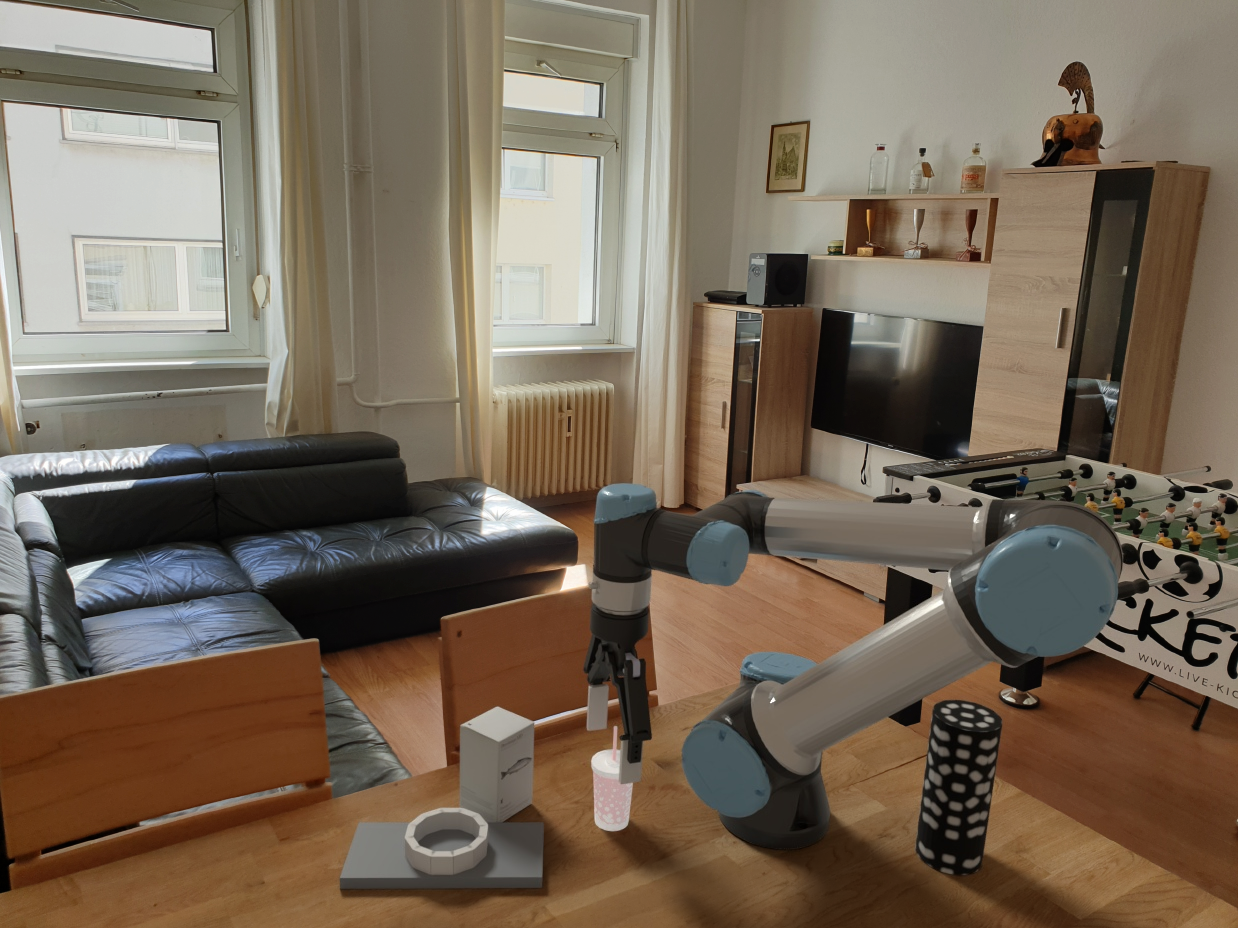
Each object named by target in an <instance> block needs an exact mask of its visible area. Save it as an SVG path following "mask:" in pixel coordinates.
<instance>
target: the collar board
mask: <svg viewBox="0 0 1238 928" xmlns="http://www.w3.org/2000/svg"><path fill="white" fill-rule="evenodd" d="M544 831H545V822H543V821H542V822H536V821H535V822H524V821H523V822H505V821H504V822H486V821H485V820H484V819H483V818H482V817H481V815H480V814H478V813H475V812H473V811H470V810H467V809H464V808H461V807H438V808H436V809H432V810H429V811H427V812H423V813H421V814H419V815H418V816H417V817H415V819H413V820H412V821H411V822H358V824H357V826H356V829H355V832H354V836H353V838H352V841H351V844H350V847H349V850H348V853H347V856H346V858H345V861H344V863H343V866H342V870H341V872H340V875H339V890H384V889H385V890H391V889H393V890H394V889H396V890H398V889H401V890H402V889H403V890H404V889H405V890H407V889H408V890H409V889H413V890H414V889H415V890H416V889H420V890H421V889H423V890H424V889H543V872H544V871H543V869H544V868H543V866H544V864H543V863H544V835H545V834H544V833H545V832H544Z"/></svg>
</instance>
